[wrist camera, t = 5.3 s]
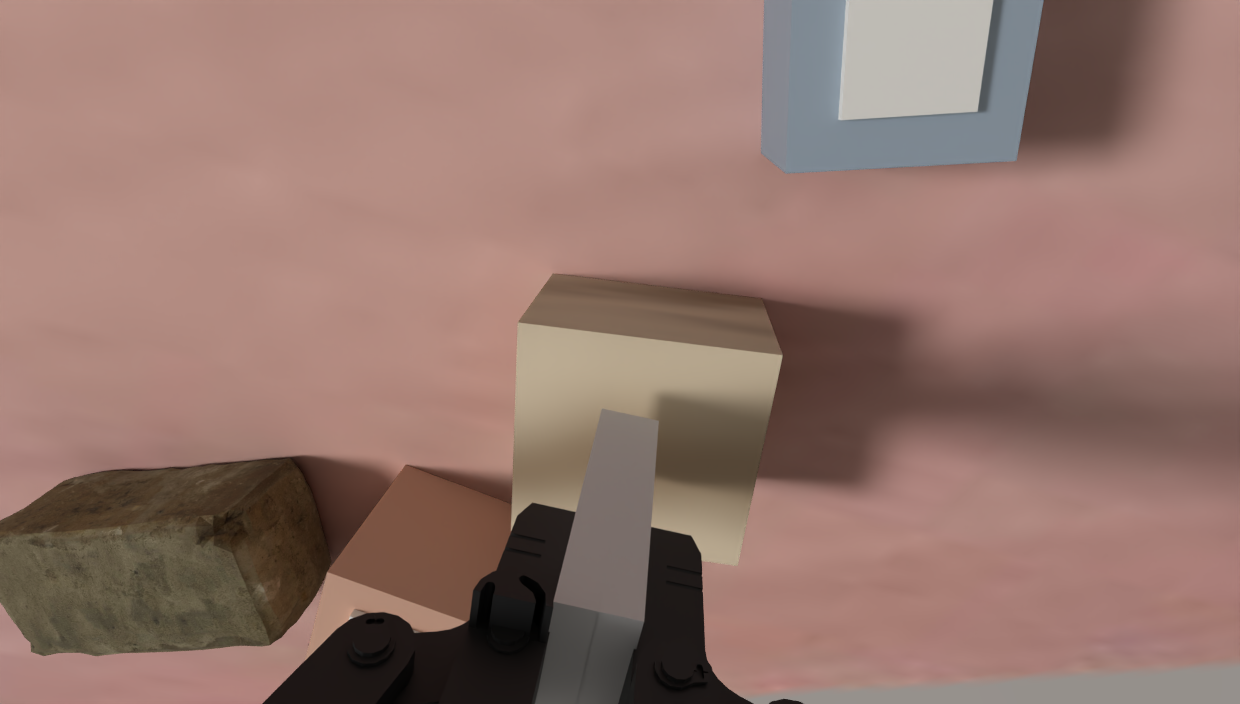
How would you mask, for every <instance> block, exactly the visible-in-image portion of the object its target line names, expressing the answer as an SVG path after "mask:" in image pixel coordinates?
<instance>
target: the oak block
mask: <svg viewBox="0 0 1240 704" xmlns="http://www.w3.org/2000/svg"><path fill="white" fill-rule="evenodd" d="M782 357H783V354H782V352H781V349H780V346H779V344H778V341H777V338H776V336H775V333H774V330H773V327H772V325H771V322H770V319H769V317H768V314H767V311H766V309H765V306H764V303H763V300H762V298H753V297H745V296H737V295H728V294H720V293H711V292H703V291H695V290H686V289H678V288H670V287H661V286H653V285H644V284H636V283H628V282H619V281H611V280H602V279H594V278H586V277H577V276H569V275H561V274H552V276H551V277H550V278H549V280H548V281H547V283H546V284H545V285H544V287H543V288H542V289H541V291H540V292H539V294H538V295H537V296H536V298H535V299H534V301H533V302H532V303H531V305H530V306H529V308H528V309H527V310H526V312H525V313H524V315H523V316H522V317H521V319H520V320H519V322H518V332H517V362H516V392H515V422H514V452H513V483H512V513H511V531H512V528H513V525H514V523H515V520H516V518H517V515H518V514H520V513H521V512H522V511H523V510H524V509H525V508H527V507H528V506H529V505H530V504H531V503H532V502H533V503H537V504H542V505H546V506H551V507H555V508H560V509H565V510H569V511H574V512H576V509H577V505H578V501H579V497H580V493H581V490H582V486H583V482H584V478H585V474H586V470H587V466H588V462H589V458H590V454H591V450H592V446H593V442H594V438H595V434H596V430H597V426H598V422H599V418H600V414H601V410H602V409H607V410H612V411H616V412H621V413H626V414H630V415H635V416H639V417H644V418H649V419H653V420H658V421H659V425H658V439H657V453H656V466H655V480H654V494H653V508H652V521H651V527H654V528H659V529H663V530H668V531H672V532H677V533H682V534H686V535H691V536H692V538H693V540H694V541H695V543H696V545H697V547H698V549H699V551H700V553H701V558H702V561H706V562H713V563H720V564H727V565H734V566H738V561H739V556H740V552H741V547H742V542H743V538H744V533H745V529H746V524H747V519H748V515H749V510H750V505H751V501H752V496H753V491H754V487H755V482H756V478H757V473H758V468H759V464H760V459H761V454H762V450H763V445H764V440H765V436H766V431H767V427H768V422H769V417H770V413H771V408H772V403H773V399H774V394H775V390H776V385H777V380H778V376H779V371H780V366H781V362H782Z"/></svg>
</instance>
